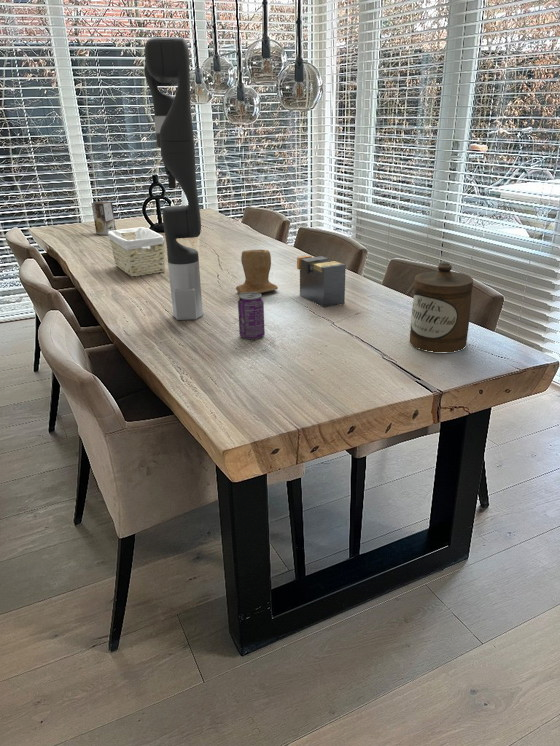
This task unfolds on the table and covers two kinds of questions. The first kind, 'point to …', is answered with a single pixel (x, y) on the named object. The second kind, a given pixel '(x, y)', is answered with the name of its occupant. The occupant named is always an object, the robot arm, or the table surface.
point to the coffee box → (103, 217)
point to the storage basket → (138, 251)
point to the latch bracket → (323, 281)
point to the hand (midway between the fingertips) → (172, 188)
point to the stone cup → (256, 272)
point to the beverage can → (251, 315)
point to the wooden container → (441, 310)
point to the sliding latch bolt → (300, 262)
